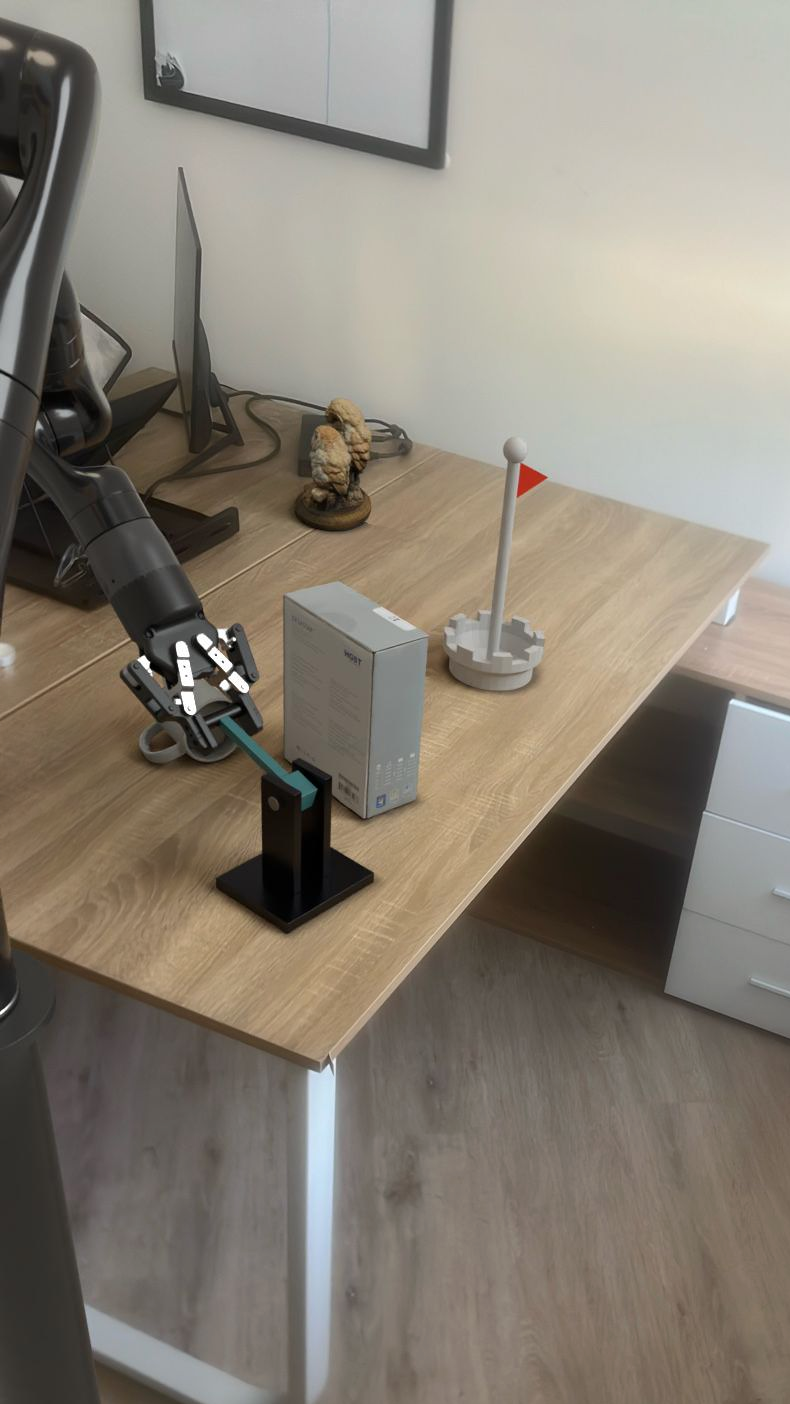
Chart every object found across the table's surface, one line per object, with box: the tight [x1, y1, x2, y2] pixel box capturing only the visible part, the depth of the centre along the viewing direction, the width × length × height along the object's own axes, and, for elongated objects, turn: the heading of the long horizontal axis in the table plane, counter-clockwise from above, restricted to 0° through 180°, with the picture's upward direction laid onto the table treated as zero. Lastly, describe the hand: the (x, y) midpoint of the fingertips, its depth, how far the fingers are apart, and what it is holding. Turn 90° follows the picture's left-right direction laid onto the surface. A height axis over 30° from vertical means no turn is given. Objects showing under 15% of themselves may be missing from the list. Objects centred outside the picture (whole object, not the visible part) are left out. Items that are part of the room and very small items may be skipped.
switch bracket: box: [215, 758, 375, 934], centre depth 123 cm, size 10×12×13 cm
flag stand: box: [442, 436, 549, 692], centre depth 158 cm, size 13×13×30 cm
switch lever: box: [202, 702, 317, 811], centre depth 121 cm, size 13×5×2 cm, turn 53°
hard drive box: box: [282, 580, 430, 819], centre depth 137 cm, size 16×8×20 cm, turn 44°
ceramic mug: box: [138, 679, 244, 764], centre depth 141 cm, size 11×8×8 cm
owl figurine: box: [294, 397, 373, 532], centre depth 196 cm, size 18×12×17 cm, turn 0°
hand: (234, 742), depth 123 cm, fingers closed on switch lever, 5 cm apart
